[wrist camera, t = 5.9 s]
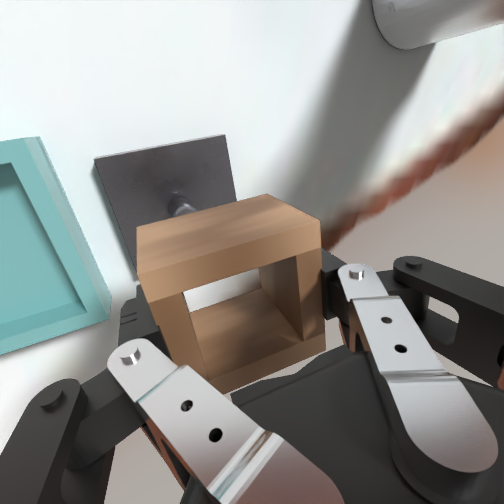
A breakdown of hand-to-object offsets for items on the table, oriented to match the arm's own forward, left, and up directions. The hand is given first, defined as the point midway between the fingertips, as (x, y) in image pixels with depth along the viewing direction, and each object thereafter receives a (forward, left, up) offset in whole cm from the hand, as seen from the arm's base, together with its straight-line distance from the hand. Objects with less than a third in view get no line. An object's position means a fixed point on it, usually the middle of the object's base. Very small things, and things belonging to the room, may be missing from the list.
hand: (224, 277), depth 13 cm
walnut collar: (0, 0, -1) cm, 1 cm away
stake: (0, 0, -14) cm, 14 cm away
